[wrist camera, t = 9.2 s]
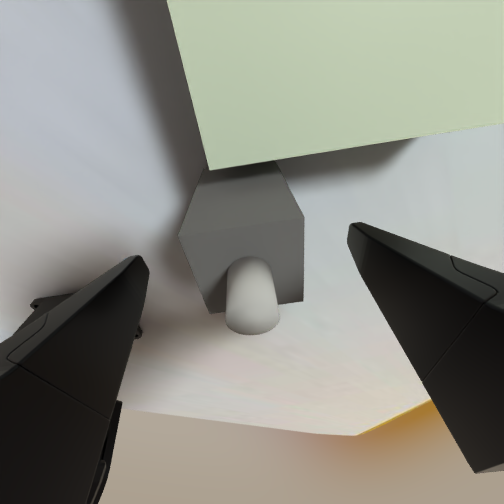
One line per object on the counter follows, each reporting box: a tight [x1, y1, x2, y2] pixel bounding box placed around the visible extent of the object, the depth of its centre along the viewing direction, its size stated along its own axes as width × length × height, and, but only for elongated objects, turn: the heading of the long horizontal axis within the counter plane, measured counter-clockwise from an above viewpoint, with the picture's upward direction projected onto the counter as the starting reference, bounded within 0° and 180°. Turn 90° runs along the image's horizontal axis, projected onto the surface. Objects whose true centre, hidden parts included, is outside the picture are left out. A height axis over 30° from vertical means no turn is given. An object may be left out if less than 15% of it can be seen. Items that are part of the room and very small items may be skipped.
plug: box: [178, 160, 304, 335], centre depth 10 cm, size 4×4×9 cm
